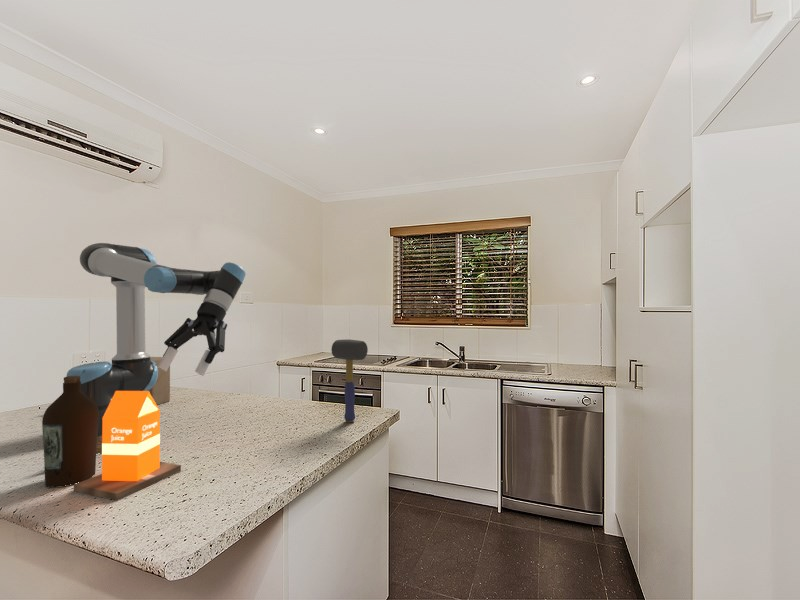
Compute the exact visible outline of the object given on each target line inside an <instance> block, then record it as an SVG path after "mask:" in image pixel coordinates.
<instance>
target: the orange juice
mask: <svg viewBox="0 0 800 600" xmlns="http://www.w3.org/2000/svg"><path fill="white" fill-rule="evenodd" d="M102 419H103V431H102V454H101V474H102V480H108V481H139V480H140V479H142V478H144V477H145V476H147V475H149V474H150V473H152V472H154V471H155V470H157V469H159V468H160V462H161V461H160V458H161V456H160V454H161V450H160V449H161V447H160V445H161V433H160V432H161V410H160V409H159V407H158V405H156V403H155V401H154V400H153V398H152V396H151V394H150V393H149V391H116V392H115V394H114V396H113V398H112V399H111V402H110V404H109V406H108V408H107V410H106V412H105V414H104V416H103V418H102Z"/></svg>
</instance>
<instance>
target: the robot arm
mask: <svg viewBox="0 0 800 600" xmlns="http://www.w3.org/2000/svg"><path fill="white" fill-rule="evenodd" d="M79 262H80V265H81V267H82V269H84V271H86V272H87V273H89V274H91V275H94V276H98V277H105V278H106V277H108V278H110V284H111V285H113V286H114V287H115V289H116V293H115V296H116V297H115V298H116V299H115V300H116V309H115V310H116V354H115V355H114V356H113V357H112V358H111V361H97V362H96V361H95V362H89V363H84V364H80V365H76V366H74V367H72V368H71V369H69V370H68V371H67V373H66V375H65V377H68V376H80V381H81V392H83V393H84V394H85V395H86V396H88V397H89V398H90V399H92V400H93V401H94V402H95V403H96V404H97V407H98V410H99V421H98V434H97V437H98V436H101V435H102V431H103V419H102V418H103V416H104V414H105V412H106V410H107V408H108V406H109V404H110V402H111V400H112V398H113V396H114V394H115V392H116V391H148V390H150V389H151V388H152V387H153V386H154V385H155V383H156V381H157V378H158V368H160V369H162V370H163V371H167V370H168V368H169V366H170V367H171V365H172V362H173V360H174V359H175V357H176V355H177V353H178V352H179V350H178V349H179V348H181V346H183V345H185V344H186V343H187V342H188V341H190V340H191V339H192V338H194V337H198V336H206V341H207V345H208V347H207V349H205V351H204V352H203V354H202V357H201V359H200V360H199V362H198V365H197V366H196V368H195V370H194V372H195V373H197V374H198V375H199V376H201V377H202V376H204V375H205V373H206V371H208V370H207V369H208V367H209V366H210V364H212V363H213V361H214V358H215V357H216V355H217V354H219V353H224V352H225V347H226V346H225V345H226V330H227V327H228V323H226V322H225V321H224V320H225V319H224V318H225V316H226V315H227V312H229V311H228V310H229V309H230V307H231V305H232V303H233V301H234V299H235V298H236V295H237V293H238V291H239V289H240V288H241V286H242V285H243V282H244V280H245V278H246V270H245V269H244V268H243V267H242V266H241V265H239V264H238V263H234V262H231V261H230V262H226V263H224V264H222V266H221V267H220V270H210V271H209V270H207V271H206V270H205V271H204V270H195V269H184V268H183V269H182V268H175V267H169V266H167V265H161V264H158V263H157V259H156V258H155V256H154V254H153V253H151V251H149V250H148V249H146V248H140V247H138V246H130V245H129V246H128V245H122V244H114V243H113V244H112V243H108V242H95V243H93V244H90V245H88V246H87V247H85V248H84V249H82V250H81V253H80V255H79ZM146 288H147V290H148V291H150V292H151V293H158V294H185V295H187V294H191V295H195V296H198V295H201V296H204V295H205V296H204V297H203V300H202V301H203V302H202V303H201V304H200V305H199V307H198V309H197V311H196V315H197V316H196V318H195V319H191V318H190V317H188V318H186V319H185V321H184V322H183V323H182V325H180V327H178V328H177V329H176V331H174V332H173V334H171V335H170V336H169V337H168V338H167V339H166V340H165V341H164V342H163V343H164V345H165V346H166V347H167V348H166V350H165V352H164V353H163V354H162V357H163V358H162V360H161V362H160V364H159V365H158V368H157V366H156V363H155V362H154V361H152V360H150V357H151V355H150V354H149V353H147V352H146V306H145V305H146V303H145V302H146V301H145V300H146V298H145V297H146V296H145V293H146V291H145V289H146Z"/></svg>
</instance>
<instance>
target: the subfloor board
mask: <svg viewBox="0 0 800 600" xmlns="http://www.w3.org/2000/svg"><path fill="white" fill-rule="evenodd" d="M181 466H182V465H181V464H174V463H170V462H163V461H160V468H159V469H157V470H155V471H154V472H152V473H150V474H149V475H147V476H145V477H144V478H142V479H140V480H139V481H108V480H102V473H101V474H98V475H94V476H93V477H91V478H90V479H87V480H84V481H82V482H79V483H77V484H73V492H75V491H78V492H77V493H80V492H82V493H81V494H84V493H85V494H84V495H89V494H90V495H89V496H93V495H94V496H93V497H97V498H102V497H103V499H107V500H111V499H112V500H113V501H115V502H117V501H119V500H121V499H124V498H126V497H129V496H130V495H132V494H135V493H137V492H139V491H141V490H143V489H146V488H147V487H149V486H152V485H154V484H156V483H158V482H161V481H162V479H163V480H165V479H167V478H170V477H171V476H174V475H175V474H177V473H180V472H182V467H181ZM173 474H174V475H173ZM160 480H161V481H160ZM112 500H111V501H112Z"/></svg>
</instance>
